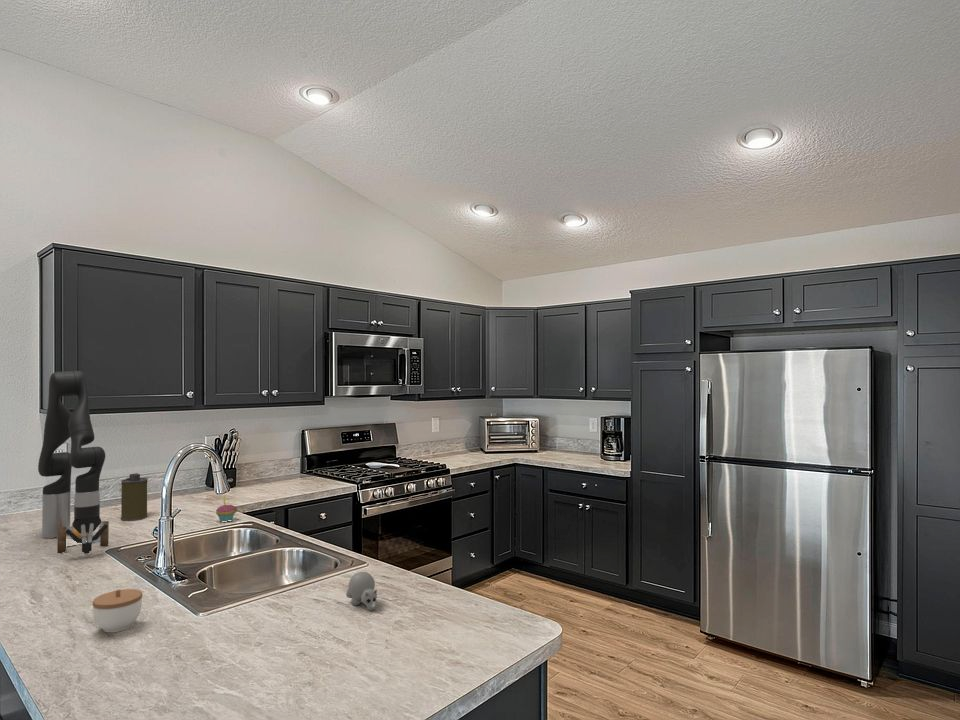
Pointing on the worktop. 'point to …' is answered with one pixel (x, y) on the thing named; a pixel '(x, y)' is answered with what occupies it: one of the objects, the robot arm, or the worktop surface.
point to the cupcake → (226, 511)
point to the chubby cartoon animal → (362, 590)
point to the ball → (78, 533)
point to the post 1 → (61, 540)
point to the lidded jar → (117, 609)
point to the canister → (134, 498)
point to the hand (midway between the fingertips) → (86, 553)
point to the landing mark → (94, 540)
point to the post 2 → (104, 535)
